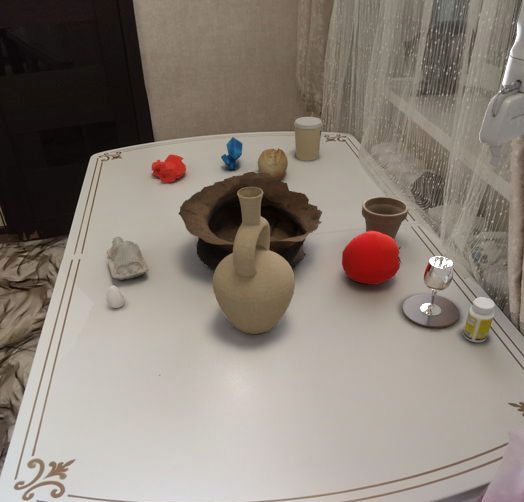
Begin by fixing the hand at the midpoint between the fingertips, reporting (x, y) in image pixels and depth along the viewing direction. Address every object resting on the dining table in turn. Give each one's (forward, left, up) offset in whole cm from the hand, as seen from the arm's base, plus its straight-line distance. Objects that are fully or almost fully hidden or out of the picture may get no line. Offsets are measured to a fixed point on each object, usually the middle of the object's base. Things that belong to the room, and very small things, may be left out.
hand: (509, 157), depth 99 cm
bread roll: (+48, -70, -33) cm, 91 cm away
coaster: (+9, +3, -33) cm, 34 cm away
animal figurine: (+82, -70, -33) cm, 113 cm away
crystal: (+62, -77, -33) cm, 104 cm away
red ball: (+21, -10, -33) cm, 41 cm away
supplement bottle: (+1, +11, -33) cm, 35 cm away
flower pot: (+17, -28, -33) cm, 47 cm away
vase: (+47, +9, -33) cm, 58 cm away
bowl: (+50, -20, -33) cm, 63 cm away
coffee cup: (+37, -86, -33) cm, 99 cm away
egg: (+79, +4, -33) cm, 86 cm away
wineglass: (+9, +3, -33) cm, 34 cm away
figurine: (+80, -11, -33) cm, 87 cm away
